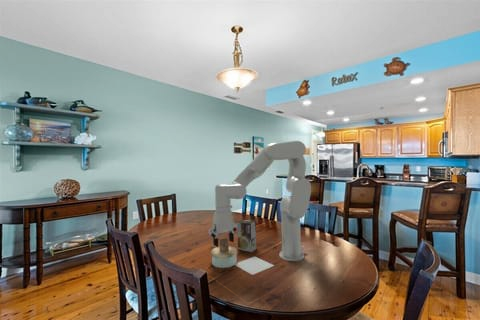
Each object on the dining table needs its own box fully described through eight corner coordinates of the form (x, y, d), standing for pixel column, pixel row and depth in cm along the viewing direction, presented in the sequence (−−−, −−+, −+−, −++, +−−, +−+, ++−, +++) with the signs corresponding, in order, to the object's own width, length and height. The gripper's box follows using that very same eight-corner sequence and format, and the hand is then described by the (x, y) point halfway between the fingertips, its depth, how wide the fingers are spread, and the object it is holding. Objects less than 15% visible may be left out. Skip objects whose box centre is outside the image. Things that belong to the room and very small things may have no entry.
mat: (254, 257, 125) (254, 256, 125) (274, 266, 114) (274, 265, 114) (233, 265, 116) (233, 264, 116) (252, 275, 105) (252, 274, 105)
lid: (227, 246, 128) (227, 233, 128) (242, 253, 118) (242, 239, 118) (206, 252, 120) (206, 238, 120) (220, 260, 110) (220, 245, 110)
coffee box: (256, 248, 137) (256, 220, 137) (251, 252, 131) (251, 223, 131) (243, 246, 141) (242, 218, 141) (237, 249, 136) (236, 221, 136)
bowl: (227, 255, 128) (226, 246, 128) (241, 263, 118) (240, 253, 118) (207, 262, 120) (207, 252, 120) (220, 270, 111) (220, 260, 111)
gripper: (232, 205, 127) (233, 237, 127) (204, 210, 117) (204, 245, 117) (241, 207, 121) (242, 241, 121) (212, 213, 111) (213, 250, 111)
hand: (223, 243), depth 119 cm, fingers open, 8 cm apart
